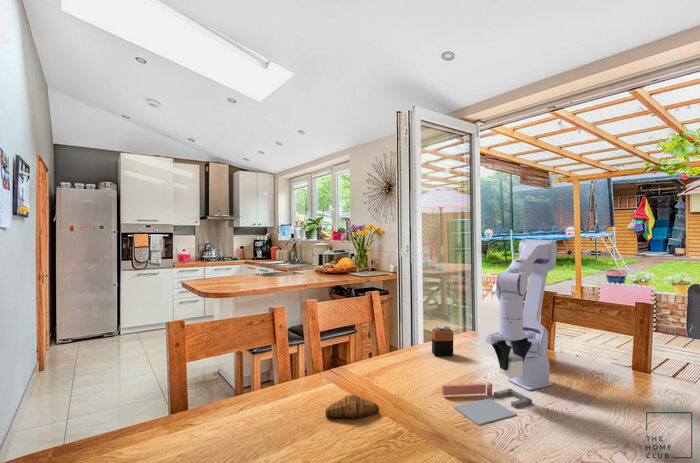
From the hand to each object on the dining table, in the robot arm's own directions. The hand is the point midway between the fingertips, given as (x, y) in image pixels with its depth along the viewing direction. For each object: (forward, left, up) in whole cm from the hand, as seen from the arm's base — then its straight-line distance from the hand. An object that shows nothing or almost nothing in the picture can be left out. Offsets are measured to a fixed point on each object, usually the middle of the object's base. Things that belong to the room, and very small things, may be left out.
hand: (510, 367), depth 97 cm
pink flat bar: (+9, -7, -9) cm, 14 cm away
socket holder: (0, 0, -9) cm, 9 cm away
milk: (-25, -28, -9) cm, 39 cm away
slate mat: (+11, +2, -9) cm, 14 cm away
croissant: (+42, -9, -9) cm, 44 cm away
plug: (0, 0, -2) cm, 2 cm away
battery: (-5, -36, -9) cm, 37 cm away
